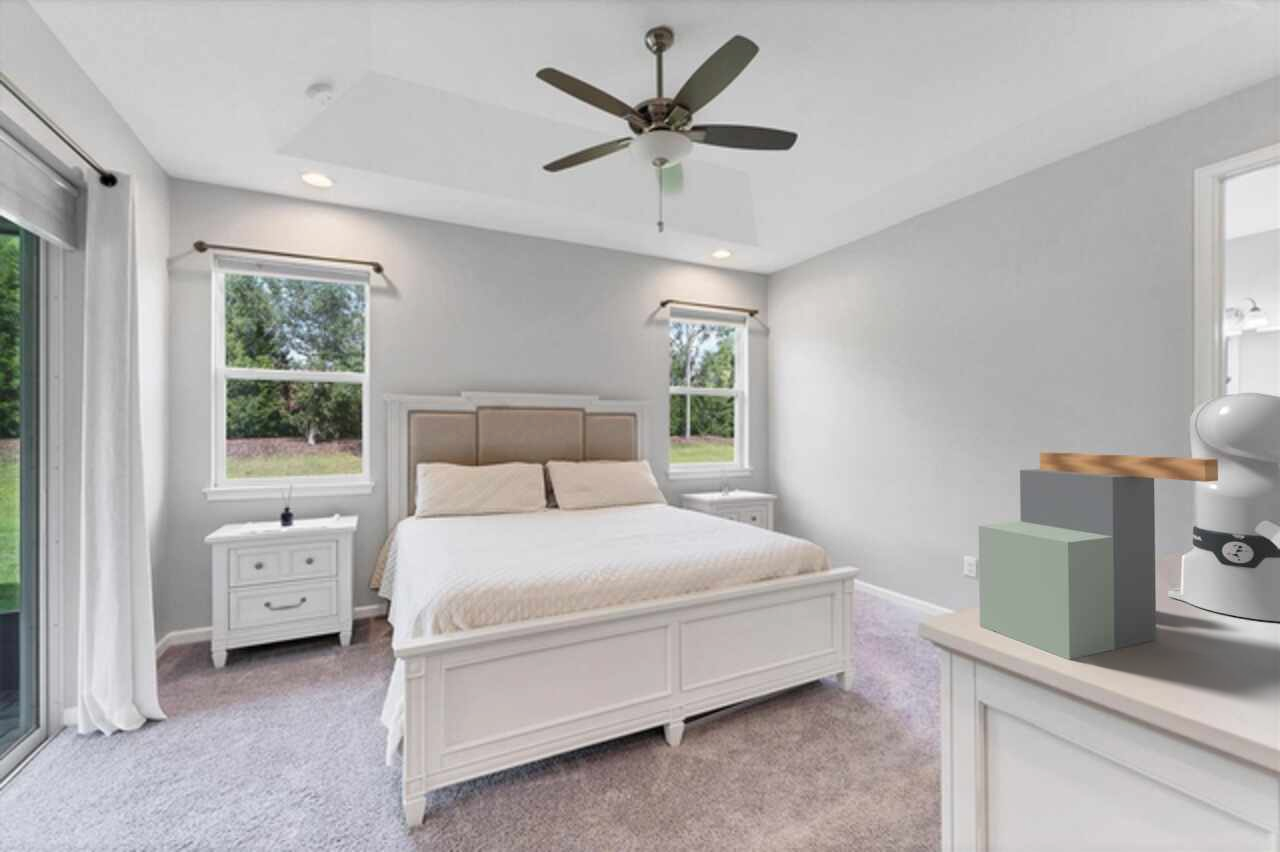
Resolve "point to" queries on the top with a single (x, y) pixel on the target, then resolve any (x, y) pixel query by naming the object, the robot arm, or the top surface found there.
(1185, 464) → the orange bar
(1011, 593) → the stepped stand
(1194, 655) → the top surface
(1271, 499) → the robot arm
